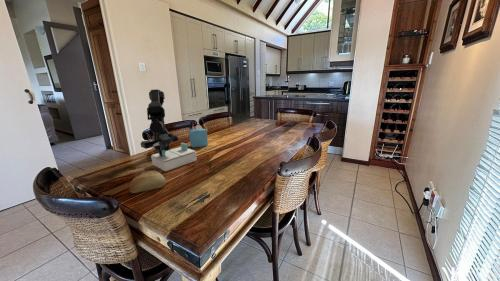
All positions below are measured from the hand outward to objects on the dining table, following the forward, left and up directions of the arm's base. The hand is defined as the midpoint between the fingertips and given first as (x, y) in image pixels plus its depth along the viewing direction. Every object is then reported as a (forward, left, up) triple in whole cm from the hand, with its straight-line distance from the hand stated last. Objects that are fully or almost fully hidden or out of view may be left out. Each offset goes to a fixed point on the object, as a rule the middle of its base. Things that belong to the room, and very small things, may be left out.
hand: (162, 155), depth 116 cm
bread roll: (+19, -17, -7) cm, 26 cm away
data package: (-15, +35, -6) cm, 39 cm away
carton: (0, +7, -6) cm, 9 cm away
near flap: (0, +2, -1) cm, 2 cm away
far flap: (0, +12, -1) cm, 12 cm away
